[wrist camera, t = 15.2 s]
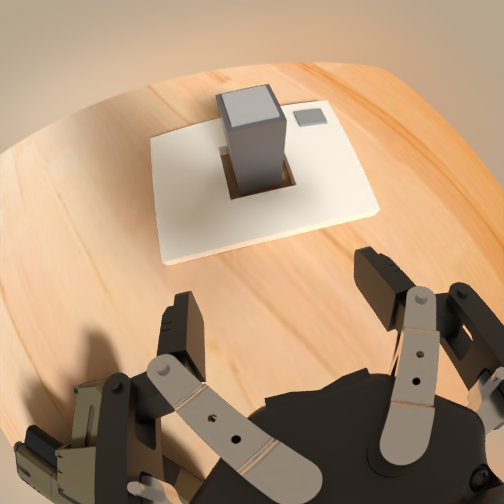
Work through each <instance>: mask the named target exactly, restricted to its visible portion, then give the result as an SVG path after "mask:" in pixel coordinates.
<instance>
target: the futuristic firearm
mask: <svg viewBox="0 0 504 504" xmlns="http://www.w3.org/2000/svg"><path fill="white" fill-rule="evenodd" d="M106 380H107V379H102V380H94V381H91V382H87V383H84V384H81V385H77V386H74V388H73V393H74V395H75V397H76V404H75V411H74V419H73V428H72V439H71V441H69V442H68V443H66V444H64V445H63V444H62V443H60V442H59V441H57V440H56V439H54V438H53V437H51V436H50V435H49V434H47V433H46V432H44V431H43V430H42V429H40V428H39V427H38V426H36V425H31V426H29V427H28V428H27V431H26V437H25V442H24V443H22V442H20V441H18V442H16V444H15V445H14V452H15V455H16V465H17V472H18V474H19V476H20V478H21V479H22V480H23V481H25V482H26V483H27V484H29V485H30V486H31V487H32V488H34V489H35V490H37V491H38V492H39V493H40V494H42V495H43V496H45V497H46V498H47V499H49V500H50V501H52V502H53V503H55V504H95V497H94V479H95V454H96V440H97V429H98V420H99V411H100V404H101V397H102V390H103V385H104V383H105V381H106ZM162 460H163V473H164V482H166V483H168V484H170V485H171V486H173V487H174V488H175V490H176V492H177V494H178V497H179V500H180V501H181V503H182V504H189V502H190V500H191V499H192V497H193V496H194V494H195V493H196V492H197V490H198V489H199V488H200V486H201V485H202V483H203V481H202V480H200V479H199V478H197V477H196V476H194V475H193V474H192V473H190V472H189V471H187V470H185V469H184V468H182V467H180V466H178V465H177V464H175V463H174V462H172V461H171V460H169V459H168V458H166V457H165V456H163V455H162Z"/></svg>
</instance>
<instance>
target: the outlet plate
mask: <svg viewBox="0 0 504 504" xmlns="http://www.w3.org/2000/svg"><path fill="white" fill-rule="evenodd" d="M280 107H281V109H282V111H283V113H284V115H285V117H286V119H287V127H286V138H285V150H284V162H285V165H286V168H287V171H288V174H289V177H290V179H291V182H292V185H293V186H290V187H285V188H280V189H276V190H271V191H267V192H263V193H258V194H254V195H250V196H246V197H241V198H237V199H233V200H231V198H230V193H229V189H228V185H227V180H226V176H225V172H224V167H223V163H222V159H221V156H222V155H227V154H229V153H228V148H227V144H226V139H225V135H224V130H223V126H222V122H221V118H218V119H214V120H210V121H206V122H202V123H198V124H195V125H191V126H188V127H184V128H181V129H178V130H174V131H171V132H168V133H165V134H162V135H159V136H156V137H153V138H150V146H151V165H152V180H153V192H154V203H155V213H156V222H157V230H158V238H159V246H160V253H161V260H162V263H164V264H165V265H167V266H169V265H173V264H177V263H181V262H185V261H189V260H193V259H197V258H201V257H205V256H209V255H213V254H217V253H221V252H225V251H230V250H234V249H238V248H242V247H246V246H250V245H254V244H258V243H262V242H266V241H270V240H274V239H278V238H283V237H287V236H291V235H295V234H299V233H303V232H307V231H312V230H316V229H320V228H324V227H328V226H332V225H337V224H341V223H345V222H349V221H353V220H358V219H362V218H366V217H370V216H374V215H375V214H376V213H377V212H378V211H379V210H380V208H379V206H378V203H377V201H376V198H375V196H374V193H373V191H372V189H371V186H370V184H369V182H368V179H367V177H366V175H365V173H364V170H363V168H362V166H361V164H360V162H359V160H358V158H357V155H356V153H355V151H354V149H353V147H352V145H351V143H350V141H349V139H348V137H347V135H346V134H345V132H344V130H343V128H342V126H341V124H340V122H339V120H338V119H337V117H336V115H335V113H334V111H333V110H332V108H331V106H330V105H329V103H328V101H327V100H326V101H315V102H306V103H298V104H291V105H284V106H280Z"/></svg>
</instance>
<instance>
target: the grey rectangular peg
mask: <svg viewBox="0 0 504 504" xmlns="http://www.w3.org/2000/svg"><path fill="white" fill-rule="evenodd" d="M216 99H217V104H218V108H219V113H220V117H221V122H222V126H223V130H224V135H225V139H226V144H227V148H228V153H229V157H230V161H231V165H232V169H233V172H234V176H235V179H236V183H237V186H238V190H239V193H240V196H243V195H247V194H251V193H254V192H258V191H262V190H266V189H270V188H274V187H278V186H281V182H282V171H283V161H284V150H285V138H286V127H287V119H286V117H285V115H284V113H283V111H282V109H281V107H280V105H279V103H278V101H277V99H276V97H275V95H274V93H273V91H272V89H271V87H270V85H269V84H266V85H261V86H255V87H250V88H245V89H241V90H236V91H232V92H227V93H223V94H219V95H216Z"/></svg>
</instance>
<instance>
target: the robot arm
mask: <svg viewBox="0 0 504 504" xmlns="http://www.w3.org/2000/svg"><path fill="white" fill-rule="evenodd" d="M354 280H355V283H356V286H357V287H358V289H359V290H360V292H361V293H362V295H363V296H364V297H365V299H366V300H367V302H368V303H369V305H370V306H371V308H372V309H373V311H374V312H375V314H376V315H377V316H378V318H379V319H380V321H381V322H382V324H383V326H384V327H385V329H386V330H387V332H388V331H391V330H393V329H396V330H397V332H398V333H397V336H396V342H395V347H394V353H393V358H392V362H391V367H390V370H389V374H388V375H387V374H379V373H376V374H369V372H368V370H367V368H364V369H361V370H359V371H356V372H353V373H350V374H348V375H345V376H342V377H341V378H339V379H338V380H336V381H334V382H333V383H331V384H329V385H328V386H326V387H324V388H322V389H320V390H316V391H301V392H289V393H285V394H281V395H277V396H272V397H268V398H265V403H266V405H265V406H263V407H261V408H259V409H258V410H256V411H255V412H253V413H252V414H251V415H250V416H249V417H248V418H246V417H244V416H243V415H242V414H240V413H239V412H238V411H237V410H236V409H234V408H233V407H232V406H231V405H230V404H228V403H227V402H226V401H225V400H224V399H222V398H221V397H220V396H219V395H218V394H217V393H216V392H214V391H213V390H212V389H211V388H210V387H209V386H207V385H206V384H204V385H203V384H202V383H201V382H206V375H205V345H204V322H203V318H202V315H201V312H200V310H199V308H198V305H197V303H196V301H195V298H194V296H193V294H192V292H191V291H188V292H183V293H179V294H176V295H175V299H174V306H169V307H167V309H166V310H165V312H164V313H163V315H162V321H161V328H160V335H159V342H158V350H157V357H155V358H154V359H153V360H152V361H151V362H150V363H149V365H148V367H147V371H145V372H144V373H141V374H139V375H137V376H134V377H132V378H129V377H128V376H127V375H126V374H123V373H116V374H113V375H112V376H110V377H109V378H108V379H107V380H106V381H105V383H104V385H103V390H102V397H101V404H100V411H99V420H98V429H97V440H96V454H95V479H94V497H95V504H182V503H181V501H180V500H179V497H178V494H177V492H176V490H175V488H174V487H173V486H171V485H170V484H168V483H166V482H164V473H163V460H162V442H161V417H162V416H165V415H167V414H169V413H172V412H174V411H176V412H177V413H178V414H179V415H180V417H181V418H182V419H183V420H184V421H185V422H186V423H187V424H188V425H189V426H190V427H191V428H192V429H193V430H194V432H195V433H196V434H197V435H198V436H199V437H200V438H201V439H202V440H203V441H204V442H205V443H206V444H207V445H208V446H209V447H211V448H212V449H213V450H214V451H215V452H216V453H217V454H218V455H219V456H220V459H219V460H218V462H217V463H216V465H215V466H214V468H213V469H212V471H211V472H210V474H209V475H208V476H207V478H206V479H205V481H204V482H203V483H202V485H201V486H200V488H199V489H198V490H197V492H196V493H195V494H194V496H193V497H192V499H191V500H190V502H189V504H504V482H502V481H501V480H500V479H499V478H498V477H497V476H496V475H495V474H494V473H493V472H492V471H491V469H490V468H489V466H488V464H487V459H486V452H485V435H486V434H488V433H489V432H490V431H491V430H496V429H499V428H500V427H501V426H503V425H504V325H503V324H502V323H501V322H500V320H499V319H498V318H497V317H496V315H495V314H494V313H493V312H492V311H491V309H490V308H489V307H488V306H487V305H486V303H485V302H484V301H483V300H482V299H481V298H480V296H479V295H478V294H477V293H476V292H475V291H474V290H473V289H472V288H471V287H470V286H469V285H467V284H465V283H461V282H457V283H454V284H452V285H451V286H450V289H449V292H448V293H440V294H434V293H433V291H431V290H430V289H428V288H426V287H422V286H416V285H415V284H414V283H413V282H412V281H411V280H410V279H409V277H408V276H407V275H406V274H405V273H404V272H403V271H402V270H400V268H399V267H398V266H397V265H396V264H395V263H394V262H393V261H392V260H391V259H390V258H389V257H387V256H385V255H383V254H381V253H380V254H377V253H376V252H375V251H374V249H373V248H372V247H370V246H368V247H365V248H361V249H357V250H355V254H354ZM463 324H464V325H465V327H466V328H467V329H468V331H469V332H470V333H471V335H472V339H473V341H472V340H471V338H470V337H469V335H468V334H467V333H466V331H465V330H464V329H463ZM439 342H440V344H441V345H442V347H443V348H444V350H445V352H446V353H447V355H448V356H449V358H450V360H451V361H452V363H453V365H454V366H455V368H456V370H457V371H458V373H459V375H460V377H461V378H462V380H463V382H464V384H465V385H466V387H467V389H468V391H469V393H468V405H467V407H465V406H462V405H460V404H457V403H455V402H452V401H450V400H448V399H445V398H443V397H440V396H438V395H436V394H435V389H436V381H437V371H438V359H439Z"/></svg>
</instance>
